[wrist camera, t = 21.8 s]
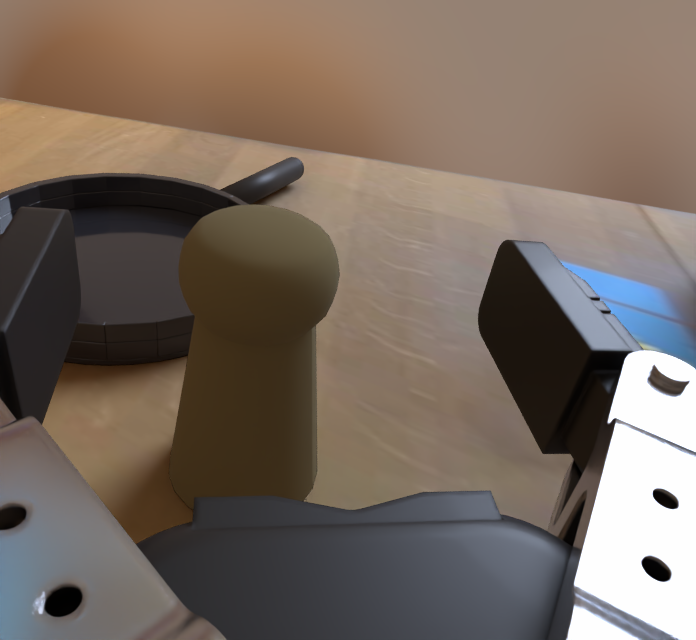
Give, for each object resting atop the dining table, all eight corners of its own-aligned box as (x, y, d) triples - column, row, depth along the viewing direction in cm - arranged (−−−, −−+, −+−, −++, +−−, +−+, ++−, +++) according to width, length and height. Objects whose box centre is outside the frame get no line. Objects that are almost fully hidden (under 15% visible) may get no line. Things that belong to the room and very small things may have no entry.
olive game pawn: (136, 464, 25) (120, 213, 18) (243, 393, 29) (259, 170, 23) (246, 554, 22) (270, 298, 16) (345, 461, 26) (395, 231, 20)
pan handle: (288, 173, 51) (290, 151, 50) (306, 179, 50) (309, 158, 49) (204, 215, 42) (204, 190, 41) (225, 223, 42) (226, 199, 41)
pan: (123, 184, 45) (121, 152, 44) (327, 265, 40) (332, 232, 39) (-121, 277, 32) (-135, 236, 31) (136, 416, 27) (133, 374, 25)
